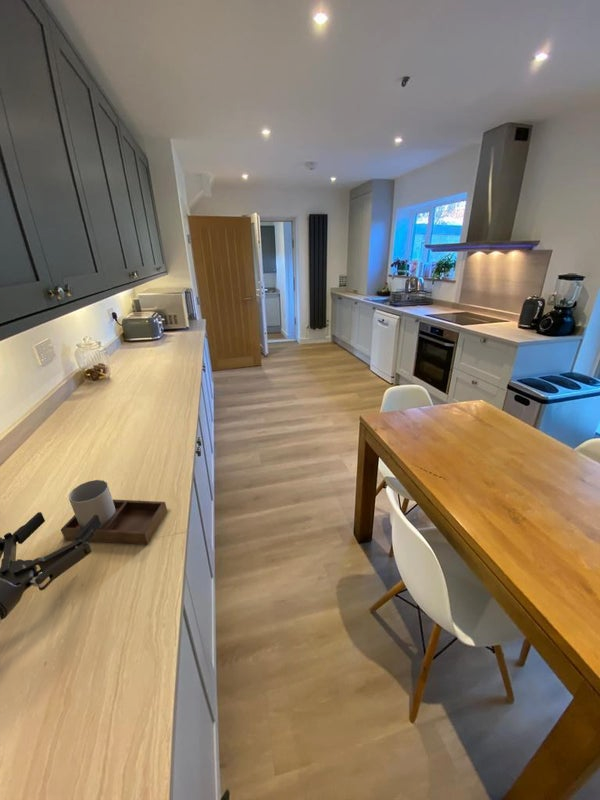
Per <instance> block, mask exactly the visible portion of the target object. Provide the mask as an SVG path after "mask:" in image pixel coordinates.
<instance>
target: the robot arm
mask: <svg viewBox="0 0 600 800" xmlns="http://www.w3.org/2000/svg"><path fill="white" fill-rule="evenodd" d="M45 522H46V520H45V517H44V515H43V512H41V511H38V512H37V513H35V514H34V515H33V516H32V517H31V518H30V519H29V520H28V521H27V522H26V523H25V524H24V525H22V526H20V527H19V528H18V529H17V530H15V531H14V532H13V533H11V532H7V533H5V534H4V535H3V537H4V538H3V537H1V536H0V559H1V564H0V623H1V622H2V620H4V619H6V618H7V616H8V615H9V614H10V613H11V612H12V611H13V610H14V609H15V607H16V606H18V604H19V602H21V599H22V597H23V594H24V593H25V591H26V590H28V589H29V588H31V587H32V586H33V587H37V588H38V590H39V591H44V590H46V589H47V588H48V587H49V585H51V584H52V582H54V580H55V579H57V578H58V577H60V576H61V575H62V574H64V573H65V572H67V571H68V570H70V568H72V567H73V566H75V565H77V564H78V563H79V562H80V561H82V560H83V559H85V558H86V557H87V556H89V555H90V554H91V553H92V548H91V546H90V542H91V541H90V540H91V539H92V537H93V536H94V534H95V533H94V532H95V530H96V529H97V528H98V527H99V526H100V524H101V523H100V520H99V517H98V515H94V516H93V517H92V519H91V520H90V521H89V522H88V523H87V524H86V525H85V527H84V528H83V529H82V530H81V531H80V532H79V534H78V535H77V536H76V537H75V539H76V540H73V541H72V542H70V543H68V544H66V545H64V546H63V547H61V548H59V549H56V550H54V551H53V552H51V553H49V554H47V555H45V556H43V557H41V556H40V557H39V556H38V557H36V558H35V559H26V560H25V559H22V558H21V559H20V558H19V559H18V558H17V548H18V547H17V545H22V544H24V542H26V541H27V540H28V539H29V538H30V537H31V535H33V534H34V533H35V532H36V531H37V530H38V529H39V528H40V527H41V526H42V525H43V524H44V523H45ZM2 556H3V557H2ZM38 567H39V569H38Z"/></svg>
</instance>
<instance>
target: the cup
mask: <svg viewBox="0 0 600 800" xmlns="http://www.w3.org/2000/svg"><path fill="white" fill-rule="evenodd" d="M110 490H111V489H110V488H109V484H108V482H106V481H105V480H103V479H94V480H89V481H86V482H83V483H81V484H79V485H77V486H76V487H74V488H73V489H72V490H71V491H70V492H69V494H68V500H69V503H70V505H71V506H70V507H71V508H72V510H73V513H74V515H75V516H76V518H77V521H78V524H79V526H80V528H84V527H85V525H86V524H87V523H88V522H89V521H90V520H91V519H92V517H93V516H94V515H98V517H99V520H100V523H101V524H100V526H99V527H98V528H97V529H103V528H104V527H105V526H106V525H107V523H108V522H109V521H110V520H111V518H112V517H113V516H114V515H115V513H116V509H115V506H114V503H113V500H112V499H113V497H112V494H111V491H110Z"/></svg>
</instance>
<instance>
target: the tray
mask: <svg viewBox="0 0 600 800" xmlns="http://www.w3.org/2000/svg"><path fill="white" fill-rule="evenodd" d="M112 500H113V503H114V506H115V509H116V513H115V515H114V516H113V517H112V518H111V520H110V521H109V522H108V523H107V525H106V526H105V527H104V528H103V529H96V530H95V532H94V533H95V534H94V536H93V537H92V539H91V540H90V541H89V542H96V543H97V542H98V543H113V544H130V545H131V544H133V545H149V544H150V541H151V540H152V538H153V536H154V535H155V533H156V532H157V530H158V528H159V526H160V525H161V523H162V521H163V520H164V518H165V517H166V515H167V513H168V507H167V504H166V503H167V502H166V501H156V500H132V499H113V498H112ZM82 529H83V528H80V526H79V524H78V521H77V518H76V516H75V514H74V515H73V516H72V517H71V518H70V519H69V520H68V521H67V522H66V523H65V524H64V525H63V526H62V528H60V532H61V534H62V536H63V539H64V541H76V539H75V537H76V536H77V535H78V534H79V532H80V531H81V530H82Z"/></svg>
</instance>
